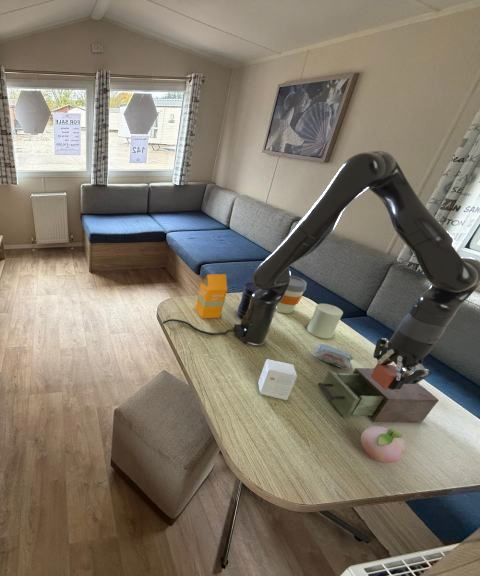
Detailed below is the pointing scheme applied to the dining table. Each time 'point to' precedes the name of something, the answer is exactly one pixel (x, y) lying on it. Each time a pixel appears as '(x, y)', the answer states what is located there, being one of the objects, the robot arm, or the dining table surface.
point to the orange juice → (212, 296)
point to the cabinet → (400, 401)
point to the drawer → (351, 394)
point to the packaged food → (334, 356)
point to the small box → (277, 379)
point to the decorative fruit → (383, 444)
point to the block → (384, 375)
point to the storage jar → (246, 299)
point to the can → (324, 320)
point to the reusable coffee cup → (292, 295)
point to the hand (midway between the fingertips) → (384, 381)
